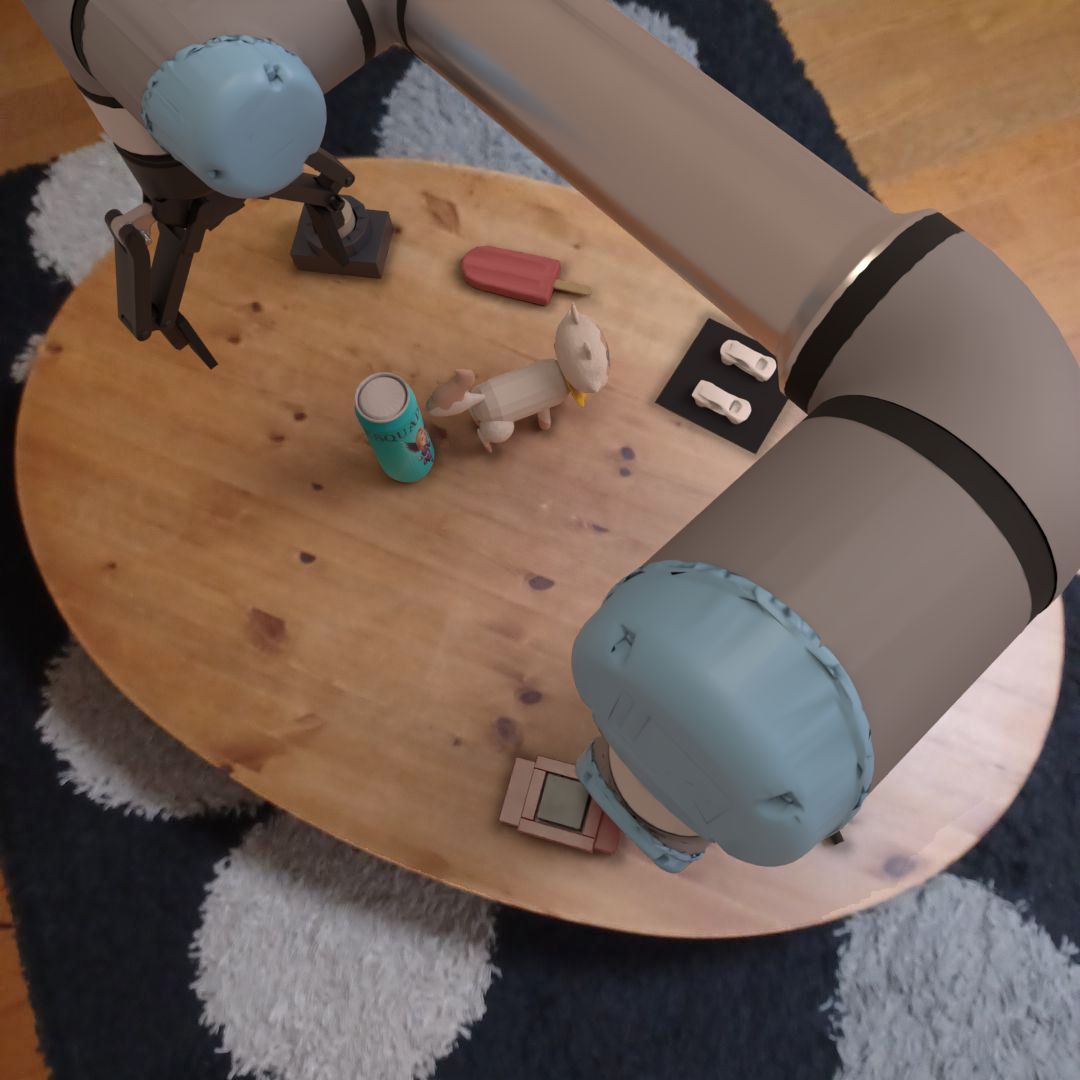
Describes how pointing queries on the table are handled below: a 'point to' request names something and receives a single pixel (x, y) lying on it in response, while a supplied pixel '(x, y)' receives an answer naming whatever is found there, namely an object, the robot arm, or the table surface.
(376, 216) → the button base
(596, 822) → the wooden frame
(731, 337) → the black square board
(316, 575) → the table surface
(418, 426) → the beverage can
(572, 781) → the black square panel
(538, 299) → the popsicle
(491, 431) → the toy
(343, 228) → the plunger
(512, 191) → the table surface
